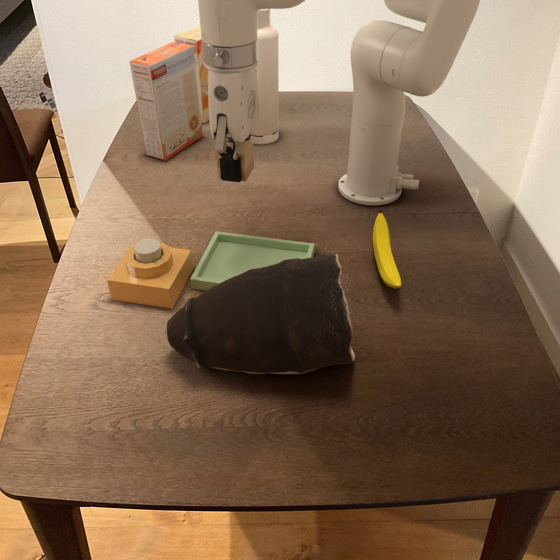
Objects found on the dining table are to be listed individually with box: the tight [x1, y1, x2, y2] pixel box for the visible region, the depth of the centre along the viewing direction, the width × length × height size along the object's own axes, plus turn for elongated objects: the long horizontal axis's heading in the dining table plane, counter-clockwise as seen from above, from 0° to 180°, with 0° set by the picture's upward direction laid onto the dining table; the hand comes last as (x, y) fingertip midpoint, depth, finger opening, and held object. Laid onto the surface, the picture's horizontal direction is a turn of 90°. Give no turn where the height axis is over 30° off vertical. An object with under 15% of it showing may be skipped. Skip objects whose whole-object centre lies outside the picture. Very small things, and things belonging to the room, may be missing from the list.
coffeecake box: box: [173, 25, 209, 124], centre depth 140 cm, size 15×7×20 cm, turn 149°
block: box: [215, 141, 255, 183], centre depth 89 cm, size 4×4×4 cm
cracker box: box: [129, 41, 204, 161], centre depth 124 cm, size 14×6×21 cm, turn 149°
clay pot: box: [164, 253, 356, 375], centre depth 78 cm, size 15×15×25 cm
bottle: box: [249, 9, 280, 145], centre depth 126 cm, size 8×8×28 cm
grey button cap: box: [134, 238, 162, 264], centre depth 89 cm, size 4×4×2 cm
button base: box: [106, 241, 195, 310], centre depth 91 cm, size 10×10×6 cm
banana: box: [372, 208, 402, 289], centre depth 93 cm, size 3×19×6 cm, turn 1°
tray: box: [189, 230, 316, 292], centre depth 95 cm, size 18×14×2 cm
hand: (236, 171), depth 90 cm, fingers closed on block, 4 cm apart
